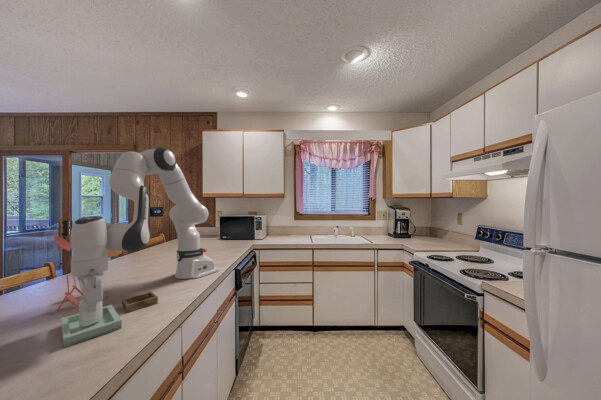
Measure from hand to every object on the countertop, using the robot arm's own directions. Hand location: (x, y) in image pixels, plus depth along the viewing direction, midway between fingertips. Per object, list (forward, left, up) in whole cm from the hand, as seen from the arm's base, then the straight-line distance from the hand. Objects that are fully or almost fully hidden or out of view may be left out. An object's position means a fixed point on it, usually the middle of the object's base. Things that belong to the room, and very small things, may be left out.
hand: (91, 309), depth 74 cm
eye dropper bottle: (0, 0, -5) cm, 5 cm away
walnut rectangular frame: (-15, -7, -6) cm, 17 cm away
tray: (0, 0, -6) cm, 6 cm away
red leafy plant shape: (-1, -29, -6) cm, 30 cm away
